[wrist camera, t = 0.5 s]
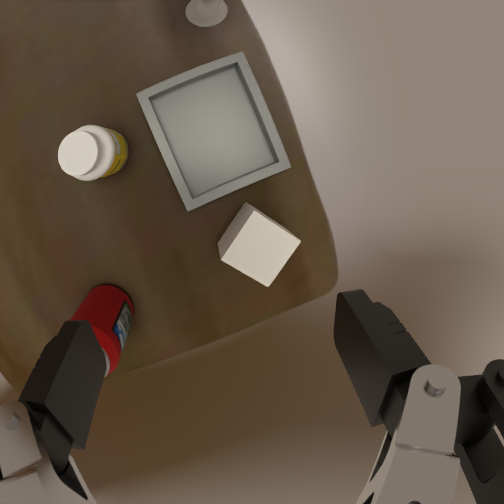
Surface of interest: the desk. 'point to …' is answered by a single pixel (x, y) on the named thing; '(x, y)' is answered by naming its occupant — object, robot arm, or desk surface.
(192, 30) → the desk surface
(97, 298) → the beverage can
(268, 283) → the white cube
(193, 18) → the chalice
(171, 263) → the desk surface
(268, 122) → the tray
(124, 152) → the supplement bottle
